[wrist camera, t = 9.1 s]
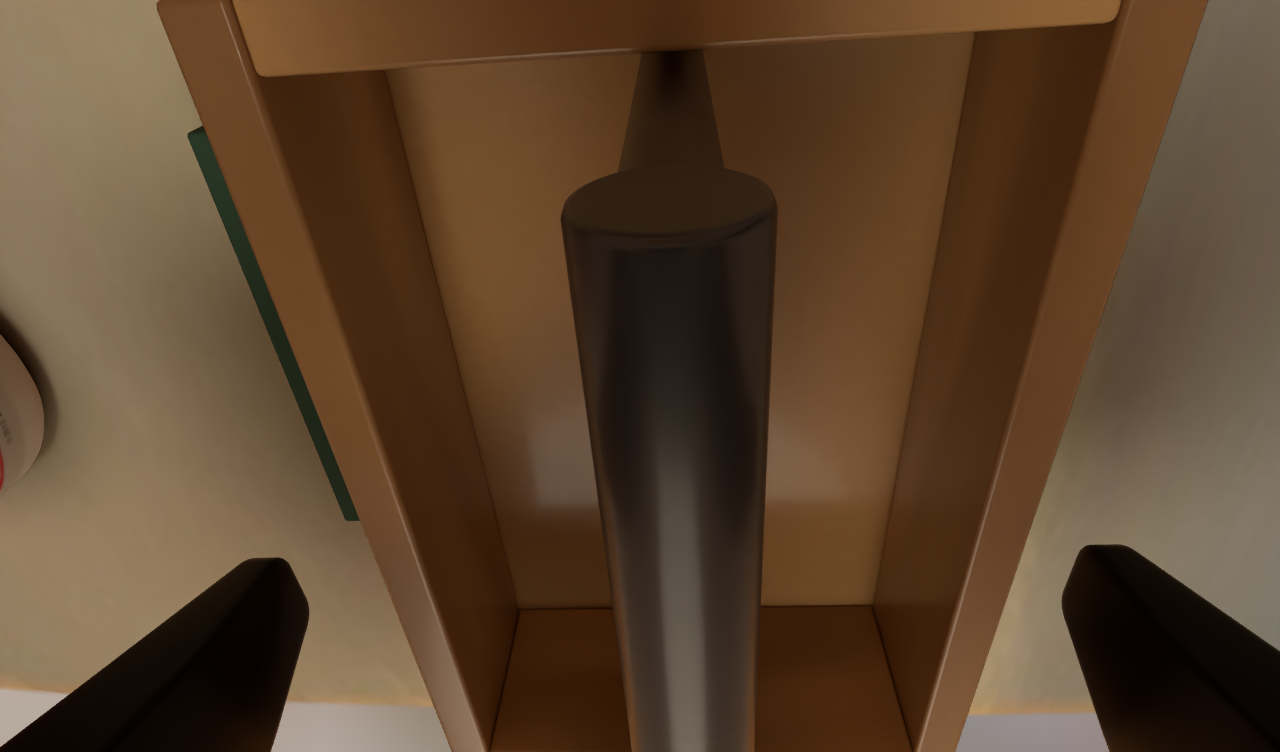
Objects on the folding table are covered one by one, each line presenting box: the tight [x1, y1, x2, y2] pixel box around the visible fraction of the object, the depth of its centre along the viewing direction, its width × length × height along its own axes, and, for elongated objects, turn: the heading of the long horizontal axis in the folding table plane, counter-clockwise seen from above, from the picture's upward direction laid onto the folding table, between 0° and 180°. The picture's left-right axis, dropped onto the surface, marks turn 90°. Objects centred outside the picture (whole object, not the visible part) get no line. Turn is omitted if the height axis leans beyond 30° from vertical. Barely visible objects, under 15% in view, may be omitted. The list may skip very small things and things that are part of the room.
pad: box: [188, 126, 360, 521], centre depth 12 cm, size 14×8×1 cm, turn 94°
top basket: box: [157, 0, 1208, 752], centre depth 10 cm, size 9×13×7 cm
